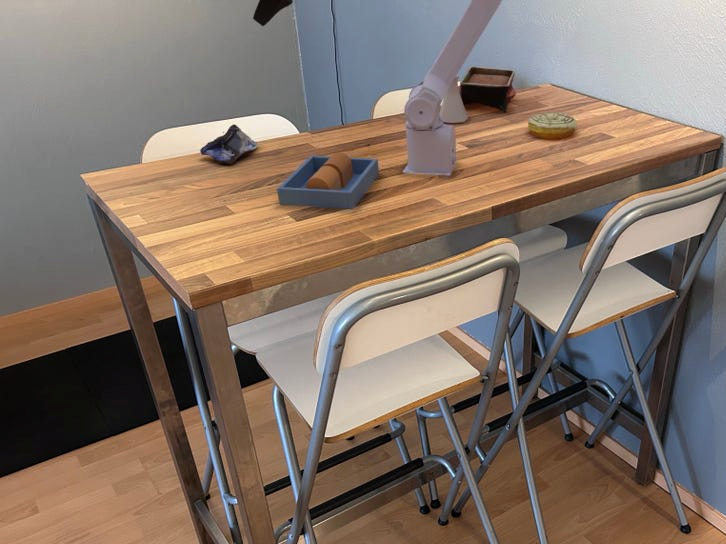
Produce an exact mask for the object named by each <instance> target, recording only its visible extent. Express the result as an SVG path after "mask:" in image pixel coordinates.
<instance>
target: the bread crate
mask: <svg viewBox="0 0 726 544" xmlns="http://www.w3.org/2000/svg"><path fill="white" fill-rule="evenodd" d="M330 157H331V156H326V155H325V156H324V155H310V156H309V157H307V159H305V160H304V161H303V162H302V163H301V165H299V166H298V167H297V168H296V169H295V170H294V171H293V172H292V173H291V174H290V175H289V176H288V177H287V178H286V179H285V180H284V181H283V182H282V183H280V185H278V187H276V193H277V198H278V204H279V206H292V207H294V206H295V207H309V208H328V209H342V210H343V209H345V210H353V209H354V208H355V207H356V205H357V204H358V203H359V202H360V200H361V199H362V198H363V196H364V195H365V194H366V193H367V191H368V190H369V189H370V187H371V186H372V184H373V183H374V182H375V180H376V179H377V178H378V177H379V175H380V168H379V159H378V158H365V157H349V158H350V160H351V162H352V169H353V177H352V178H351V180H350V181H349V182H348V183H347V185H346V186H345V187H344V188H341V189H342V190H341V191H340V190H323V189H306V184H307V182H308V180H309V179H310V178H311V177H312V176H313V175H314V174H315V173H316V172H317V171H318V170H319V169H320V168H321V167H322V166H323V165H324V164H325V163H326V162H327V161H328V159H329V158H330Z"/></svg>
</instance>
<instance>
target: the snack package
mask: <svg viewBox="0 0 726 544" xmlns="http://www.w3.org/2000/svg"><path fill="white" fill-rule="evenodd" d="M222 133H223V135H219V136H218V137H215V139H213V140H211V141H209V142H207V143H206V144H205V145H203V146H202V147H201V148H200V150H199V151H200V154H201V155H202V156H210V157H211V158H213V159H214V161H215V162H216V163H218V164H223V165H224V164H227V165H233V164H234V163H235V161H236V160H237V159H239V158H240V157H241V156H242V155H244V154H245V153H248V152H251V151H254V150H255V149H256V148H257V147H258V145H259V143H258V142H257V141H255V140H253V139H252V138H251V137H250V136H249V135H248V134H246V133H245V132H244V131H243V130H242V129H241V128H240V127H239V126H238V125H236V124H232V125H230V126H229V127H228V129H227V131H223V132H222ZM224 133H225V134H224ZM205 159H206V158H205V157H204V158H203V160H205Z"/></svg>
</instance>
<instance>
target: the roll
mask: <svg viewBox="0 0 726 544" xmlns="http://www.w3.org/2000/svg"><path fill="white" fill-rule="evenodd" d="M329 157H330V158H329V159H328V161H327V162H326V163H325V164H324V165H323V166H330V167H333V168H334V169H336V170H337V172H338V173H339V175H340V181H341V188H344V187H345V186H346V185H347V183H348V182H349V181H350V180H351V178H352V177H353V169H352V162H351V160H350V158H351V157H349V156H348V155H347V154H345V153H343V152H335V153H333V154H332V155H331V156H329ZM323 166H322V167H323Z"/></svg>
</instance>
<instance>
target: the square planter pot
mask: <svg viewBox="0 0 726 544" xmlns="http://www.w3.org/2000/svg"><path fill="white" fill-rule="evenodd" d="M515 74H516V71H515V70H513V69H506V68H499V67H498V68H497V67H487V66H469V67H468V68H467V70H466V72H465V73H464V75H463V77H462V78H461V80H460V81H459V84H458V88H459V93H460V96H461V99H462V102H463V105H464V107H466V106H468V105H471V104H475V105H476V104H477V105H481V106H484V107H488V108H493V109H496V110H499V111H500V112H503V113H506V114H507V110H508V109H507V108H508V106H509V105H510V102H511V100H513V99H514V97H516V95H517V91H516V90H515V88H514V87H513V82H514V78H515Z"/></svg>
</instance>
